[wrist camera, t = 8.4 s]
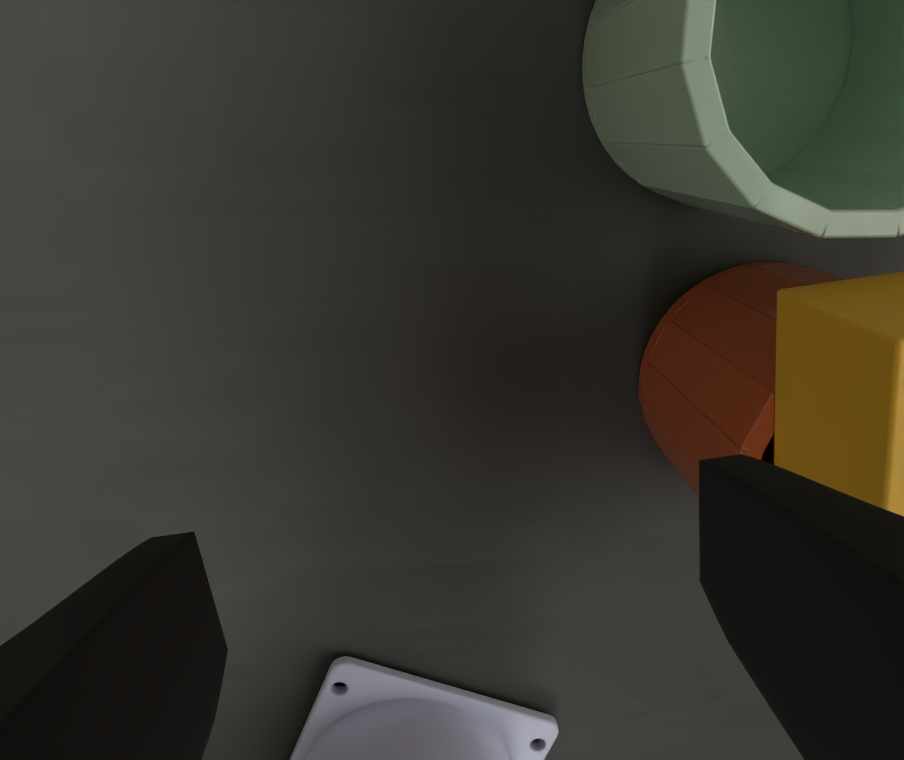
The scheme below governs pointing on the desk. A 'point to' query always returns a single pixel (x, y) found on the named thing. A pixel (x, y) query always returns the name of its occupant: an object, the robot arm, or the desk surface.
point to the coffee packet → (843, 386)
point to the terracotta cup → (718, 367)
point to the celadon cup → (756, 107)
